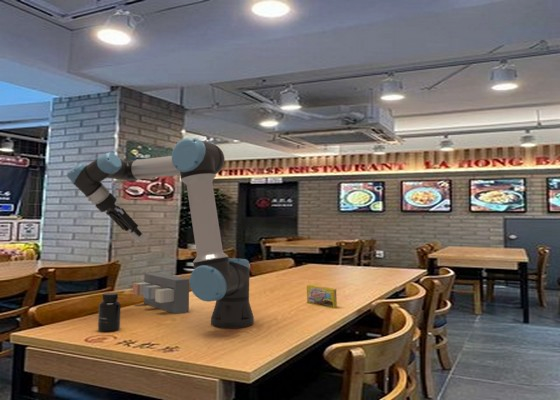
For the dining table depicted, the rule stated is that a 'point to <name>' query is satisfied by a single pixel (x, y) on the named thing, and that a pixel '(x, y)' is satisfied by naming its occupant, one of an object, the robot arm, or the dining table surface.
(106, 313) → the supplement bottle
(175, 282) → the console
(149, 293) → the slate button
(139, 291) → the terracotta button
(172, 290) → the cream button
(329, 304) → the candy box
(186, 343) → the dining table surface
